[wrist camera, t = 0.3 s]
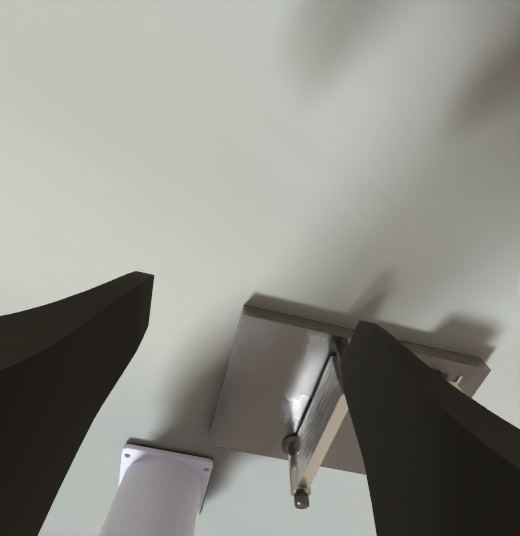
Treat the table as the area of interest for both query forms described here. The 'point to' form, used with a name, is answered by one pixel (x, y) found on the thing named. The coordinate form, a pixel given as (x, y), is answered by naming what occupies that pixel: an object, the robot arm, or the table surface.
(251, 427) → the console plate
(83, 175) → the table surface
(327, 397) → the door
